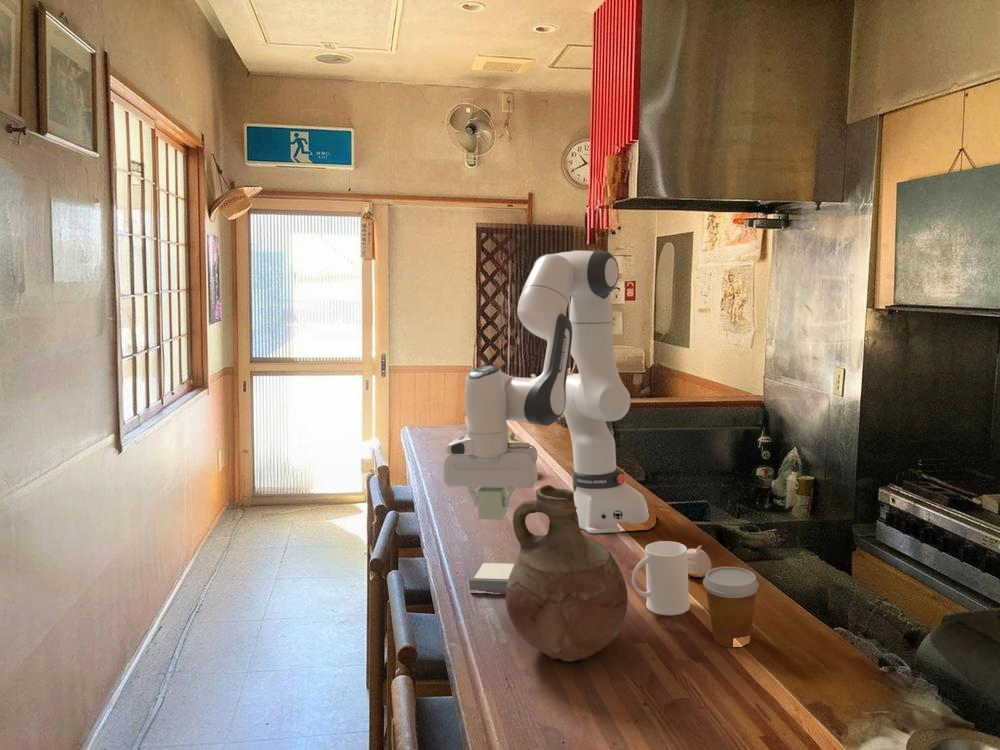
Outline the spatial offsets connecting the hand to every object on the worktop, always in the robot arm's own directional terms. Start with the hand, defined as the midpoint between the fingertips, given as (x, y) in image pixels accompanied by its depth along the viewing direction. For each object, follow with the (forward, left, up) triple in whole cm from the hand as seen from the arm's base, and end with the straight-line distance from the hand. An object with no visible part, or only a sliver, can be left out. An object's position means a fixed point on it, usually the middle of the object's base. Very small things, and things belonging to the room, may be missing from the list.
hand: (492, 505), depth 168 cm
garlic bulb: (-42, -8, -18) cm, 46 cm away
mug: (-35, +8, -18) cm, 40 cm away
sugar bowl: (+14, -84, -18) cm, 87 cm away
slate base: (0, 0, -18) cm, 18 cm away
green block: (0, 0, -2) cm, 2 cm away
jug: (-20, +27, -18) cm, 38 cm away
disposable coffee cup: (-48, +20, -18) cm, 55 cm away
